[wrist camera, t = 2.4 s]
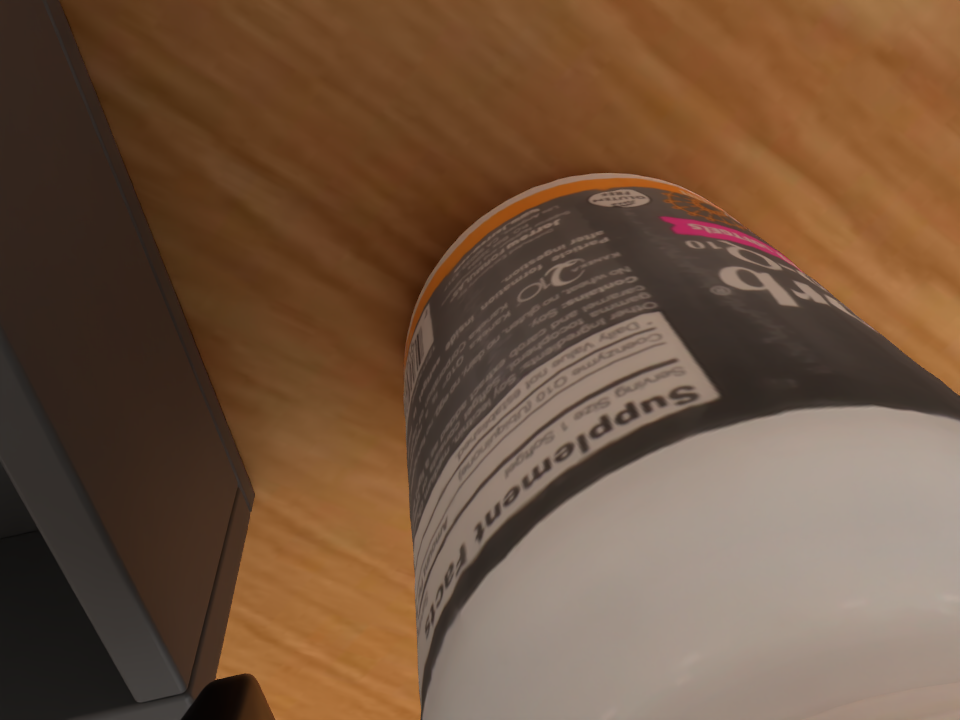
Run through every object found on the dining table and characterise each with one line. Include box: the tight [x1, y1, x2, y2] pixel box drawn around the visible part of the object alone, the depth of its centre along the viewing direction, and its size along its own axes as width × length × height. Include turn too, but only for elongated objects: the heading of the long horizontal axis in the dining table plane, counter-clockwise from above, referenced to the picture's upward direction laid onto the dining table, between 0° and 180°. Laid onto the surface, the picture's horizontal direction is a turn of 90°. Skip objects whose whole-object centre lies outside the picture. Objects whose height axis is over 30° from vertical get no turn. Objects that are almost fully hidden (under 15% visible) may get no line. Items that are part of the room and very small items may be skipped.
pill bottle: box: [404, 173, 960, 720], centre depth 8 cm, size 6×6×10 cm
